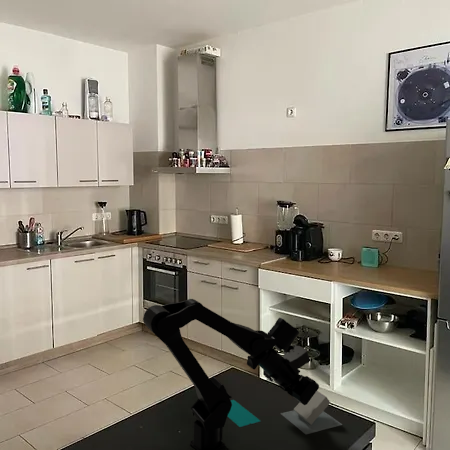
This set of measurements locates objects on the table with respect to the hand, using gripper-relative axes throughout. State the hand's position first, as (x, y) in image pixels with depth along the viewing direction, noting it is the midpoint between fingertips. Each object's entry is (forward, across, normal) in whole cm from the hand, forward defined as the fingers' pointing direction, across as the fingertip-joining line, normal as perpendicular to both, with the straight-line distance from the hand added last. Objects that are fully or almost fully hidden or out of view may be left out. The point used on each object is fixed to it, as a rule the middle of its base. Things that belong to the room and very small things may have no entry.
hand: (307, 396), depth 125 cm
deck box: (+3, 0, +5) cm, 6 cm away
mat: (+6, 0, +4) cm, 7 cm away
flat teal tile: (-6, +11, +16) cm, 21 cm away
